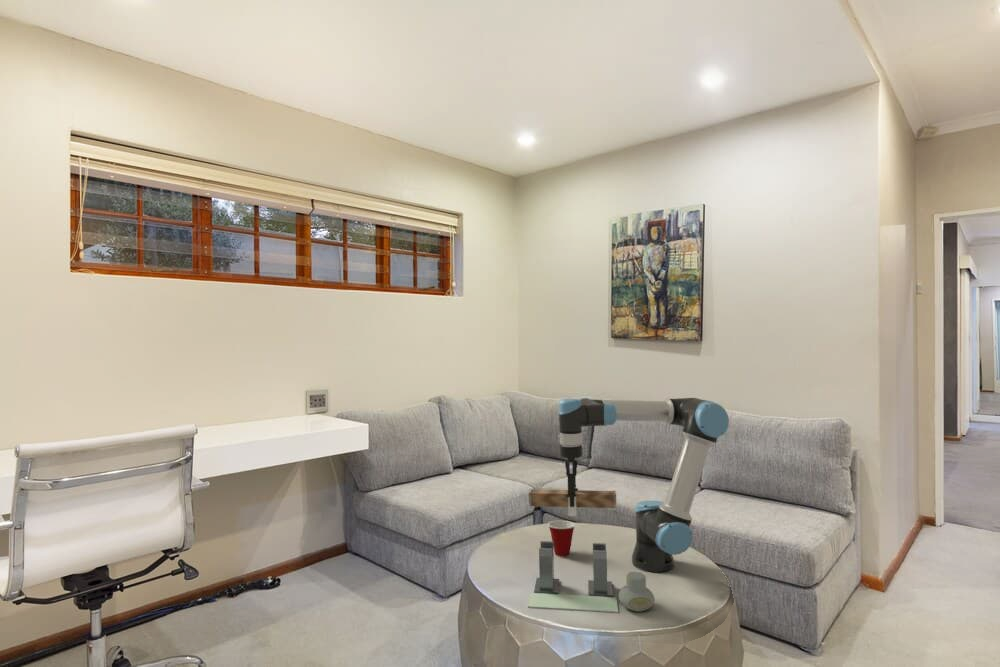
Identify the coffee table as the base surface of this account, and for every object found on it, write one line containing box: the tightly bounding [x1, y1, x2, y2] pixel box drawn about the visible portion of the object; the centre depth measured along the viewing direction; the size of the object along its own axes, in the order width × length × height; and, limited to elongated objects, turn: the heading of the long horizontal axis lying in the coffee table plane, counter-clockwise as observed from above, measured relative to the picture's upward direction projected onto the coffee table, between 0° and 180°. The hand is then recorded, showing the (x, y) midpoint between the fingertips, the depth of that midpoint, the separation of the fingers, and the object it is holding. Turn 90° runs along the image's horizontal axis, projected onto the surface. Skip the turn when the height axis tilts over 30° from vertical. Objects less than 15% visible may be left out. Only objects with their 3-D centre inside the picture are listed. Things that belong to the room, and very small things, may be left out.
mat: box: [527, 592, 619, 614], centre depth 176 cm, size 28×9×1 cm, turn 81°
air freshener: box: [618, 571, 655, 613], centre depth 173 cm, size 11×8×10 cm
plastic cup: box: [547, 520, 576, 557], centre depth 215 cm, size 11×11×12 cm
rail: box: [528, 488, 617, 509], centre depth 186 cm, size 29×5×5 cm, turn 81°
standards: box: [533, 540, 614, 597], centre depth 186 cm, size 26×10×14 cm, turn 81°
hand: (572, 512), depth 186 cm, fingers closed on rail, 4 cm apart
